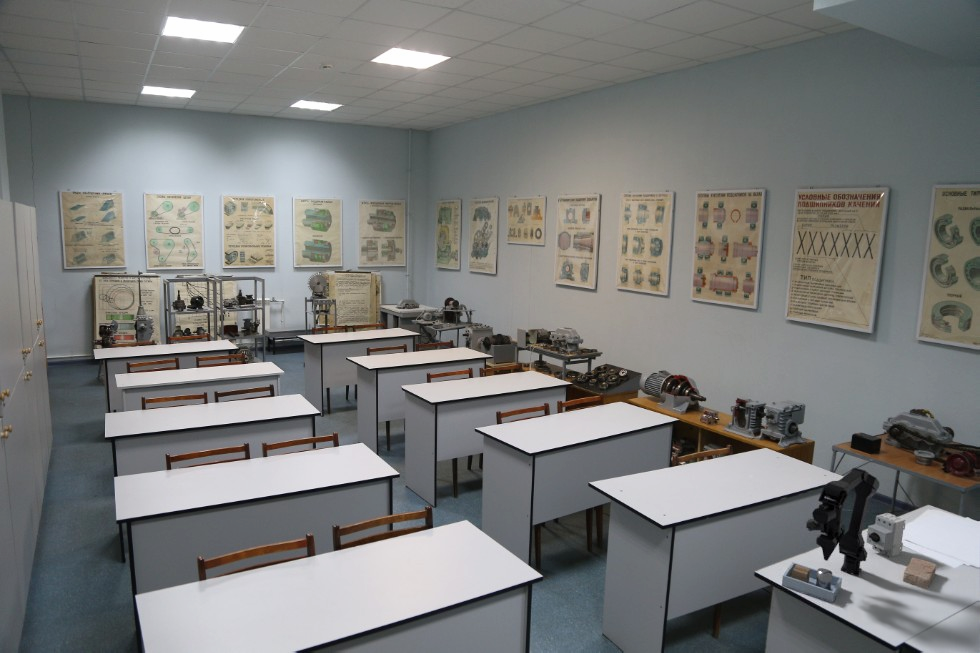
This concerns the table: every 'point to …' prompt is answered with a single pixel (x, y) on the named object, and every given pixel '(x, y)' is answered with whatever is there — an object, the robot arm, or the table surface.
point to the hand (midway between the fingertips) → (828, 555)
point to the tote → (811, 584)
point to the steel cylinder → (824, 578)
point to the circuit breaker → (886, 534)
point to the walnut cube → (801, 573)
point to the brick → (919, 573)
